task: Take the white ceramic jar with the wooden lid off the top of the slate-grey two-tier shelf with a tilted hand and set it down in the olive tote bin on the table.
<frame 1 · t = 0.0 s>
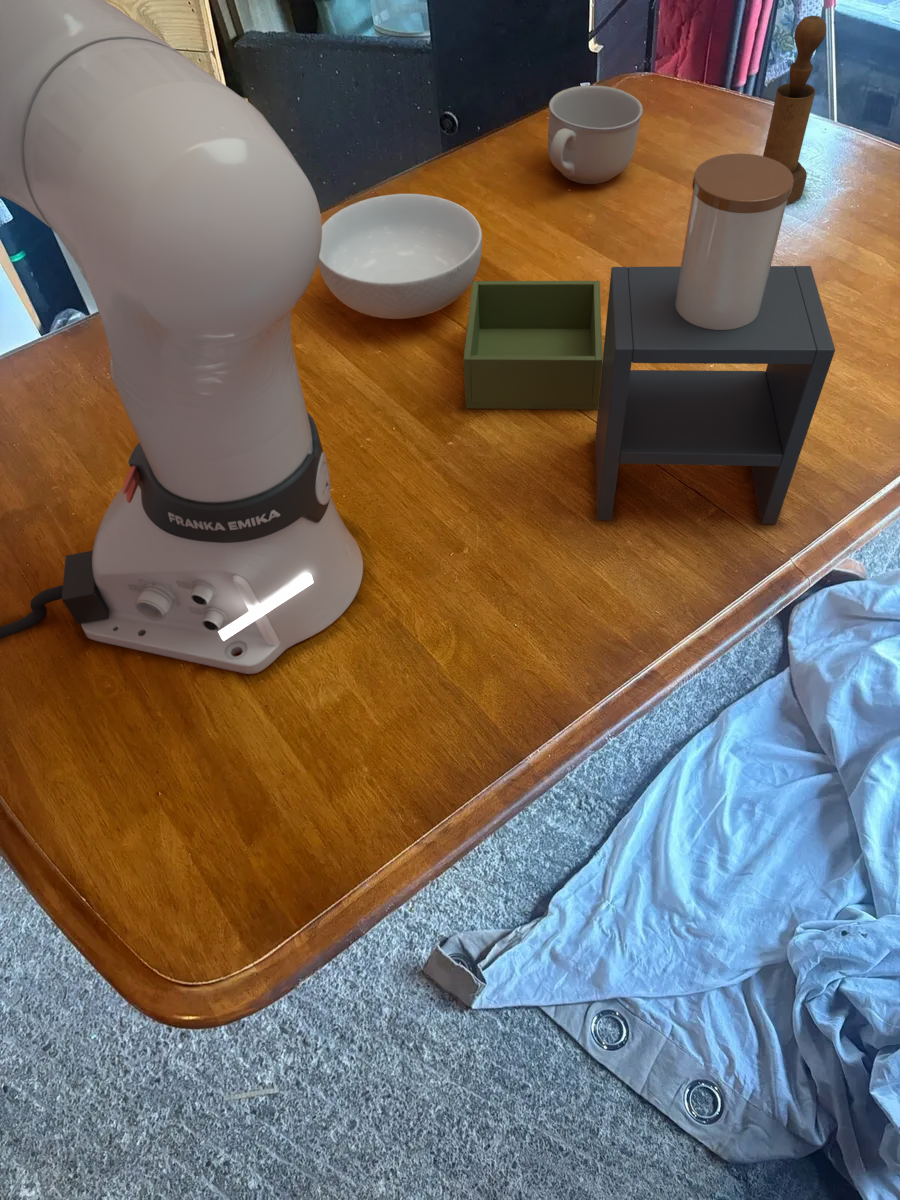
mortar and pestle: (772, 193, 104), on the table
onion: (730, 297, 92), on the table
cereal bowl: (404, 298, 95), on the table
bin: (533, 368, 86), on the table
teacup: (582, 178, 109), on the table
shelf: (681, 479, 76), on the table
jar: (717, 305, 63), point 17 cm above the table, touching shelf
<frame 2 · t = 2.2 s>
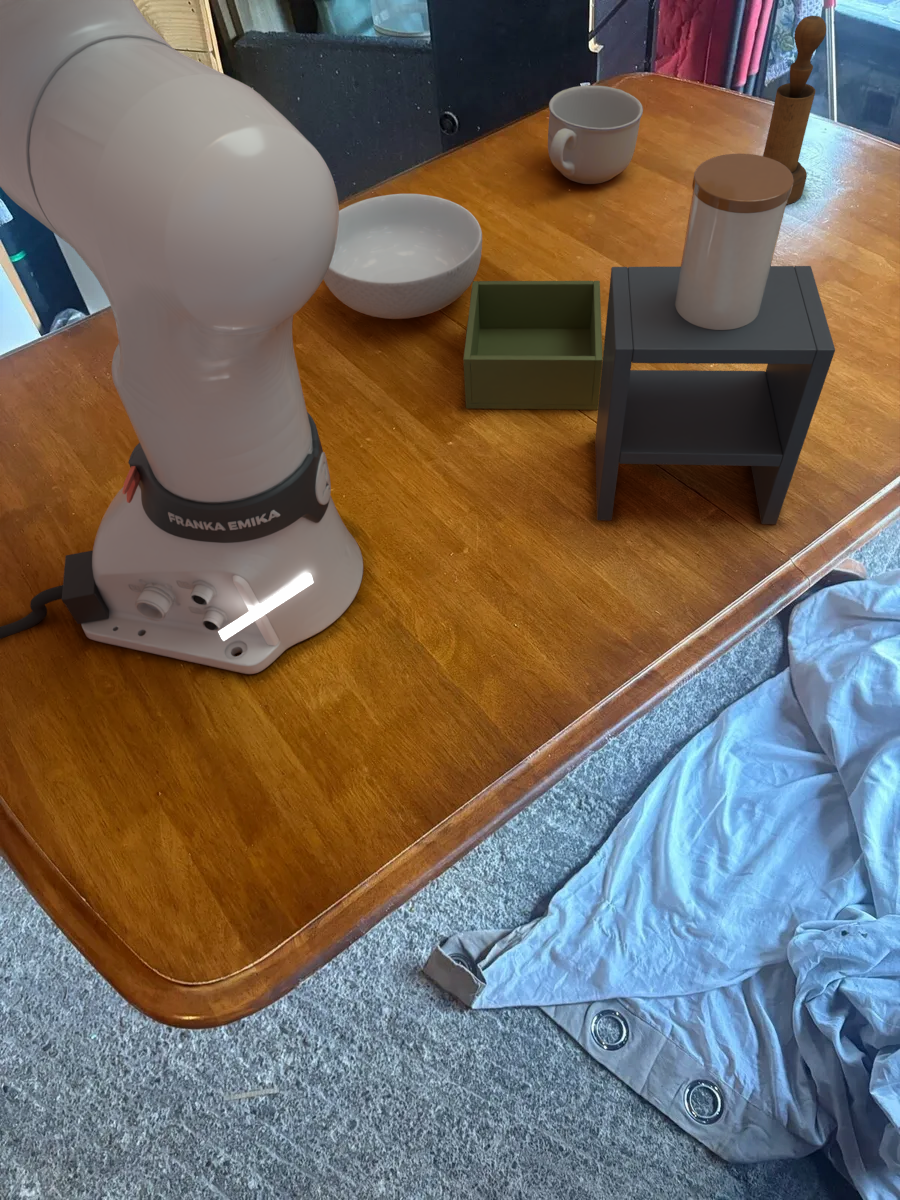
nothing on the table moved.
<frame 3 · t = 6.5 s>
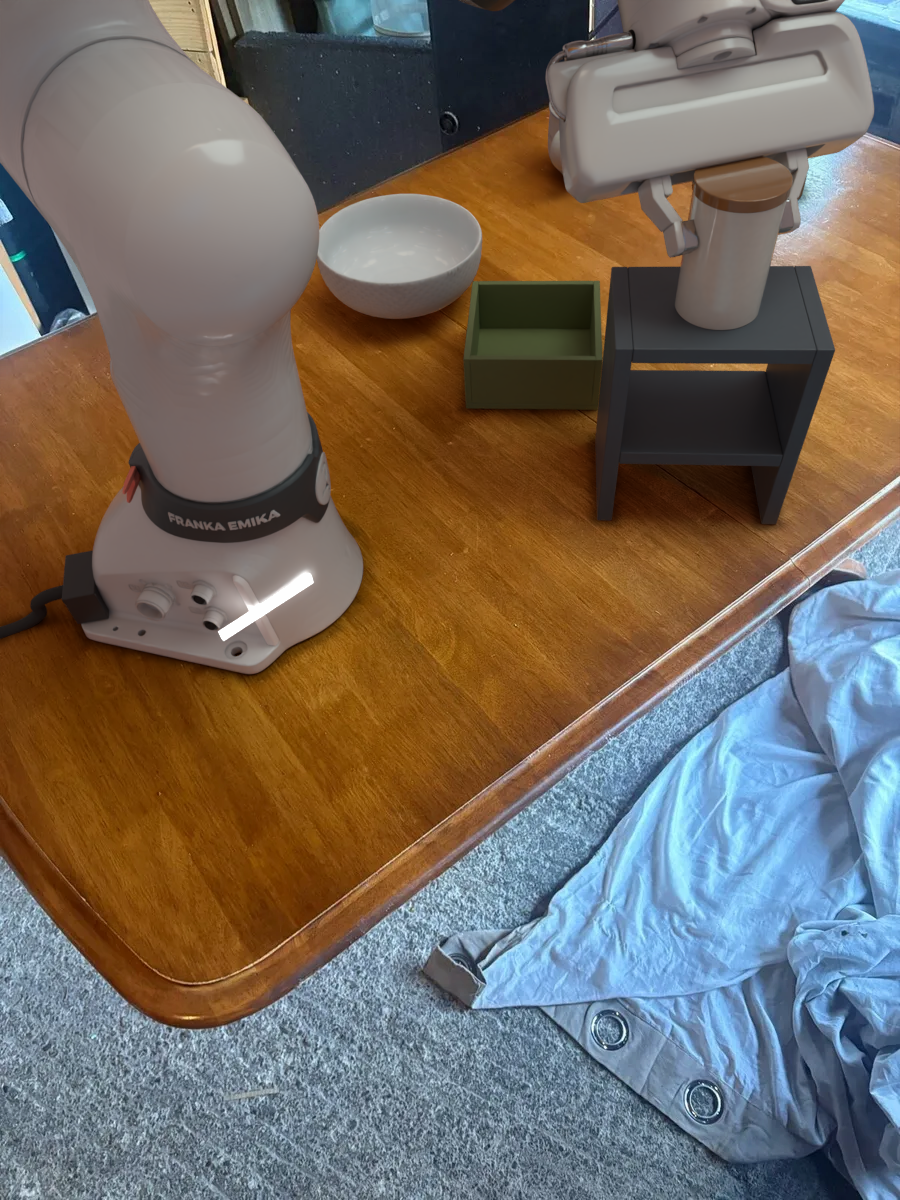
hand: (735, 242, 58), 22 cm above the table, tool tilted 45°, fingers closed on jar, 6 cm apart
jar: (716, 305, 63), point 17 cm above the table, touching gripper, shelf
everything else where it was.
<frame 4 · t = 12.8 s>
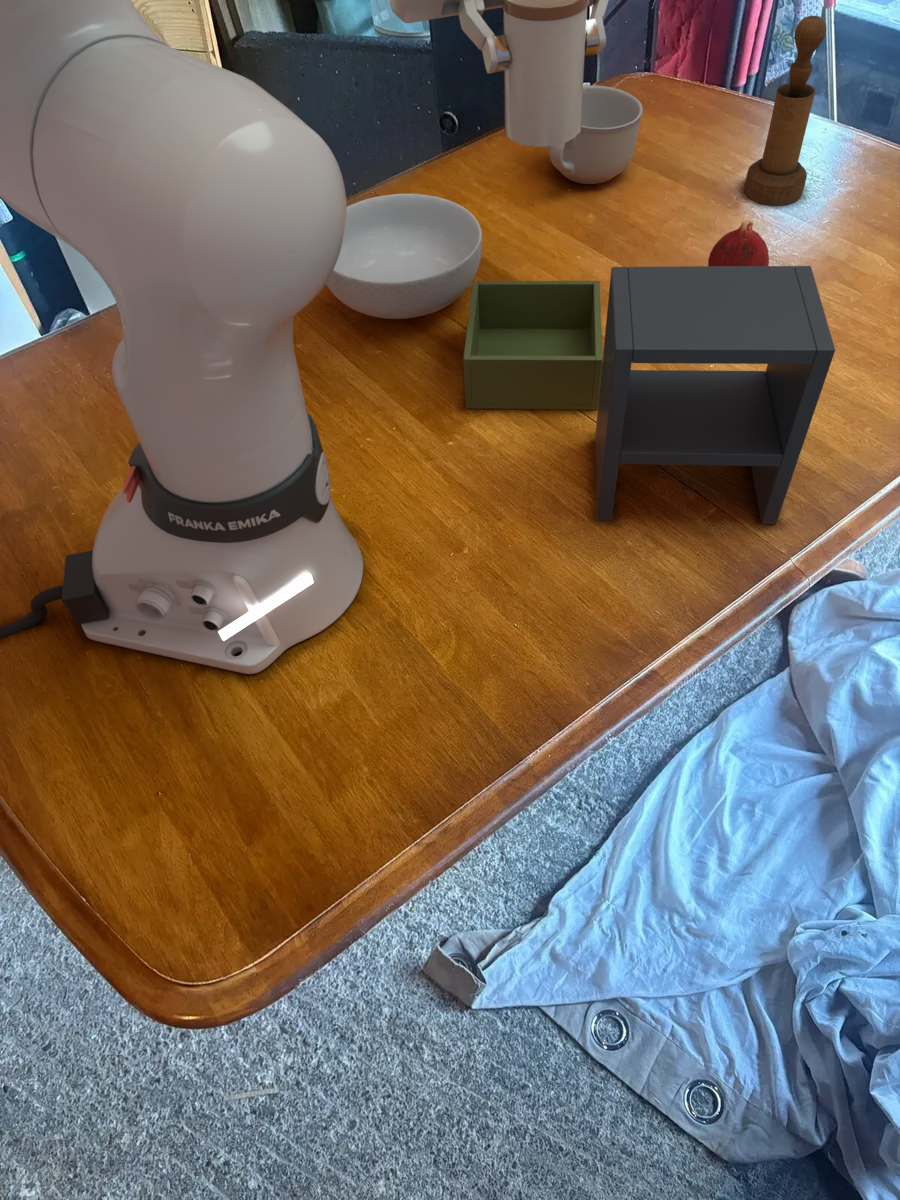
hand: (547, 59, 64), 28 cm above the table, tool tilted 45°, fingers closed on jar, 6 cm apart
jar: (542, 129, 68), point 23 cm above the table, touching gripper
everything else where it was.
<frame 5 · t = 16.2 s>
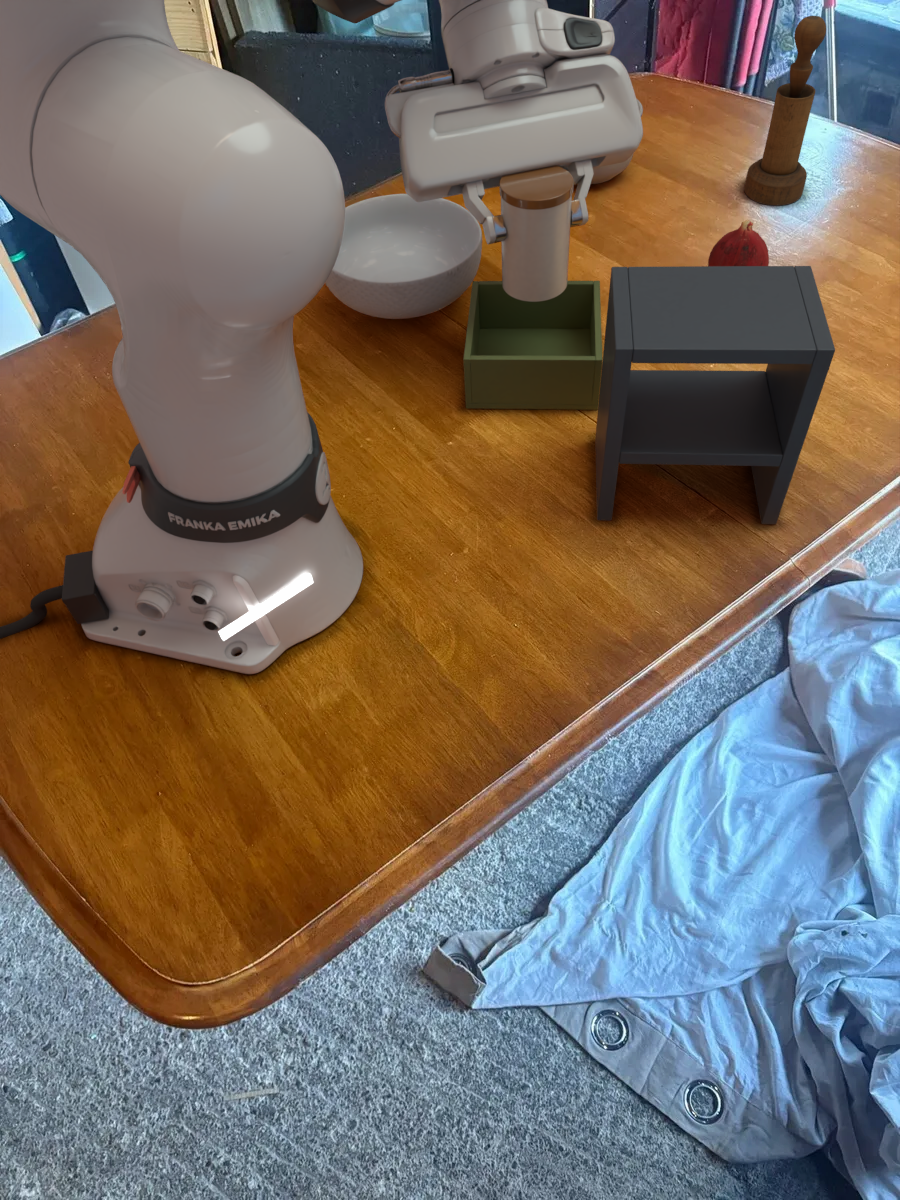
hand: (538, 232, 75), 14 cm above the table, tool tilted 45°, fingers closed on jar, 6 cm apart
jar: (534, 282, 79), point 9 cm above the table, touching gripper
everything else where it was.
when the fingers open (5 cm above the table, at t = 19.1 s): jar stays where it is, resting on bin.
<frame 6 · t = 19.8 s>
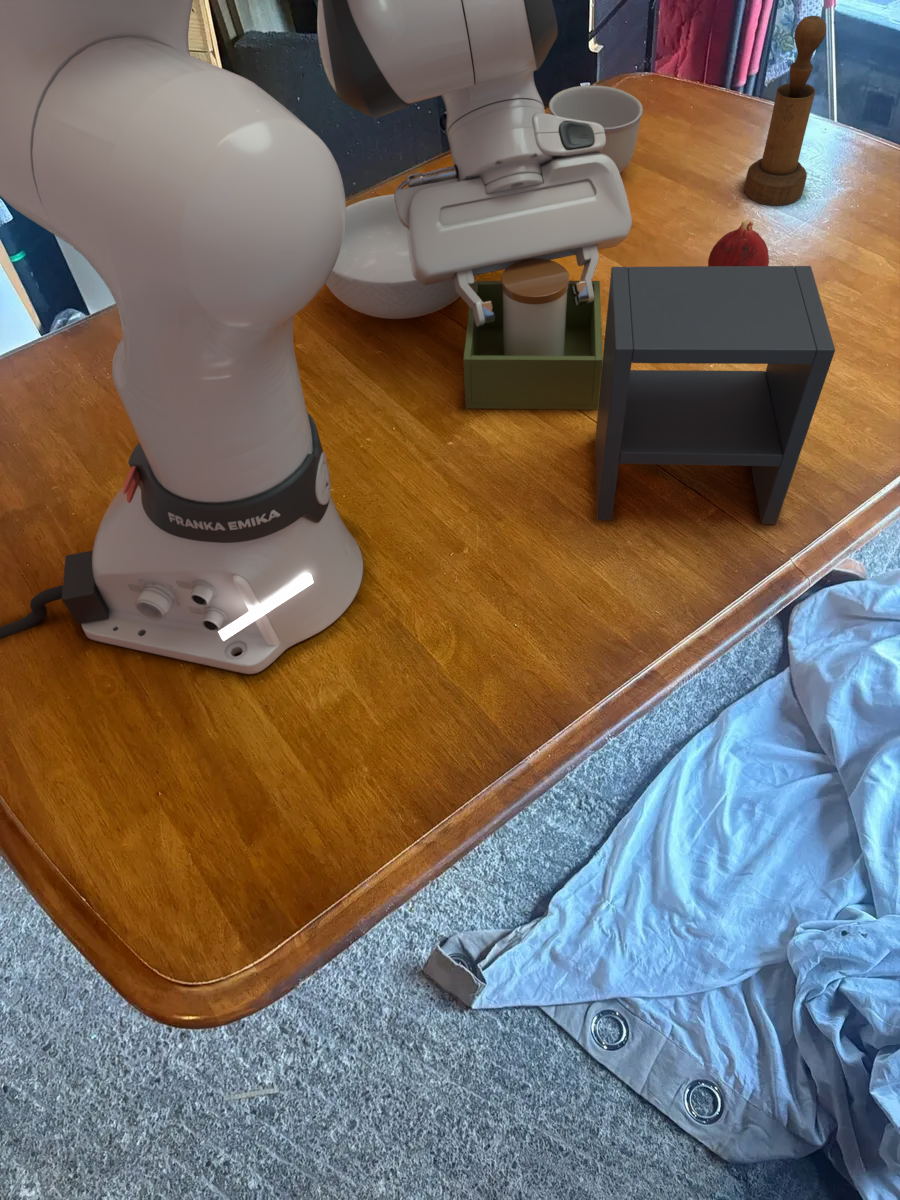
hand: (535, 313, 81), 6 cm above the table, tool tilted 45°, fingers open, 8 cm apart
jar: (533, 362, 86), point 1 cm above the table, touching bin
everything else where it was.
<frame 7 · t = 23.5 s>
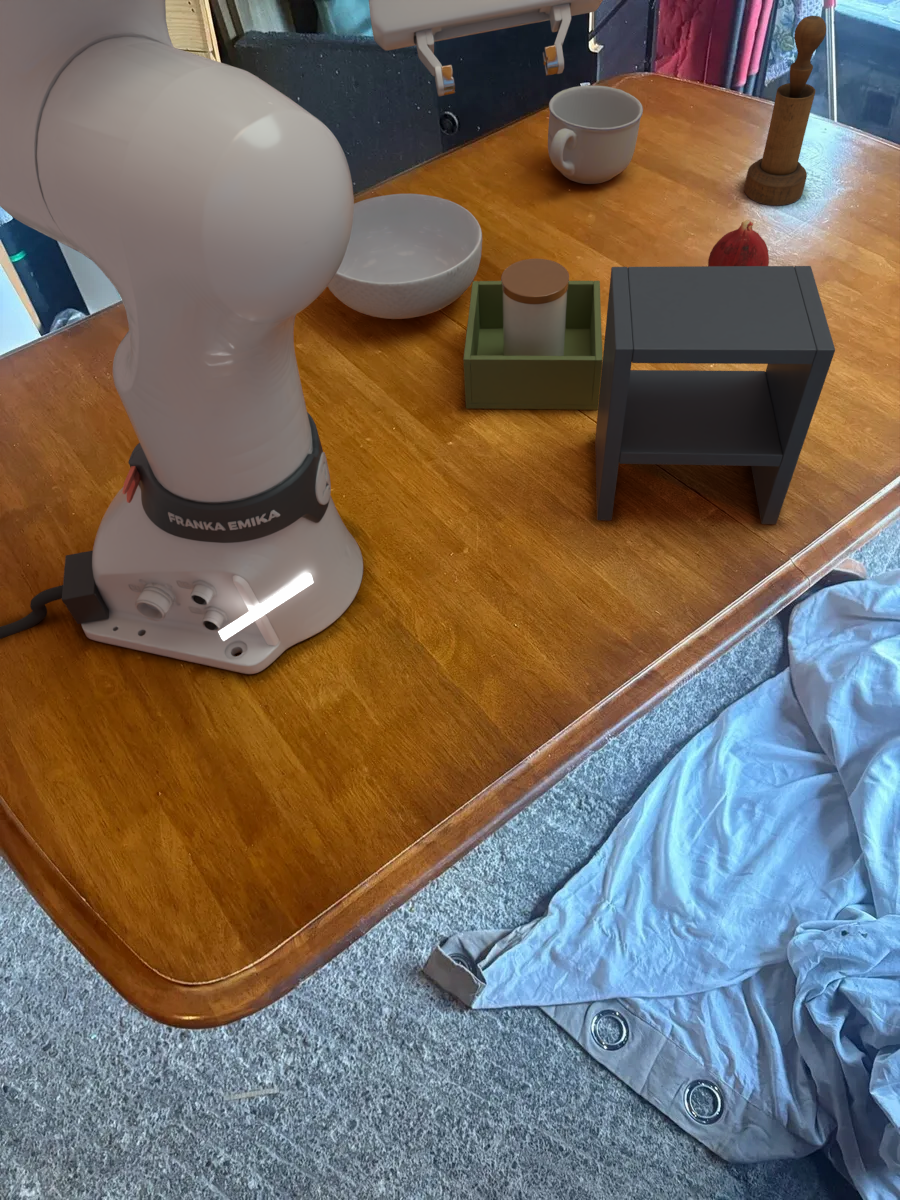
hand: (500, 82, 76), 22 cm above the table, tool tilted 40°, fingers open, 8 cm apart
nothing on the table moved.
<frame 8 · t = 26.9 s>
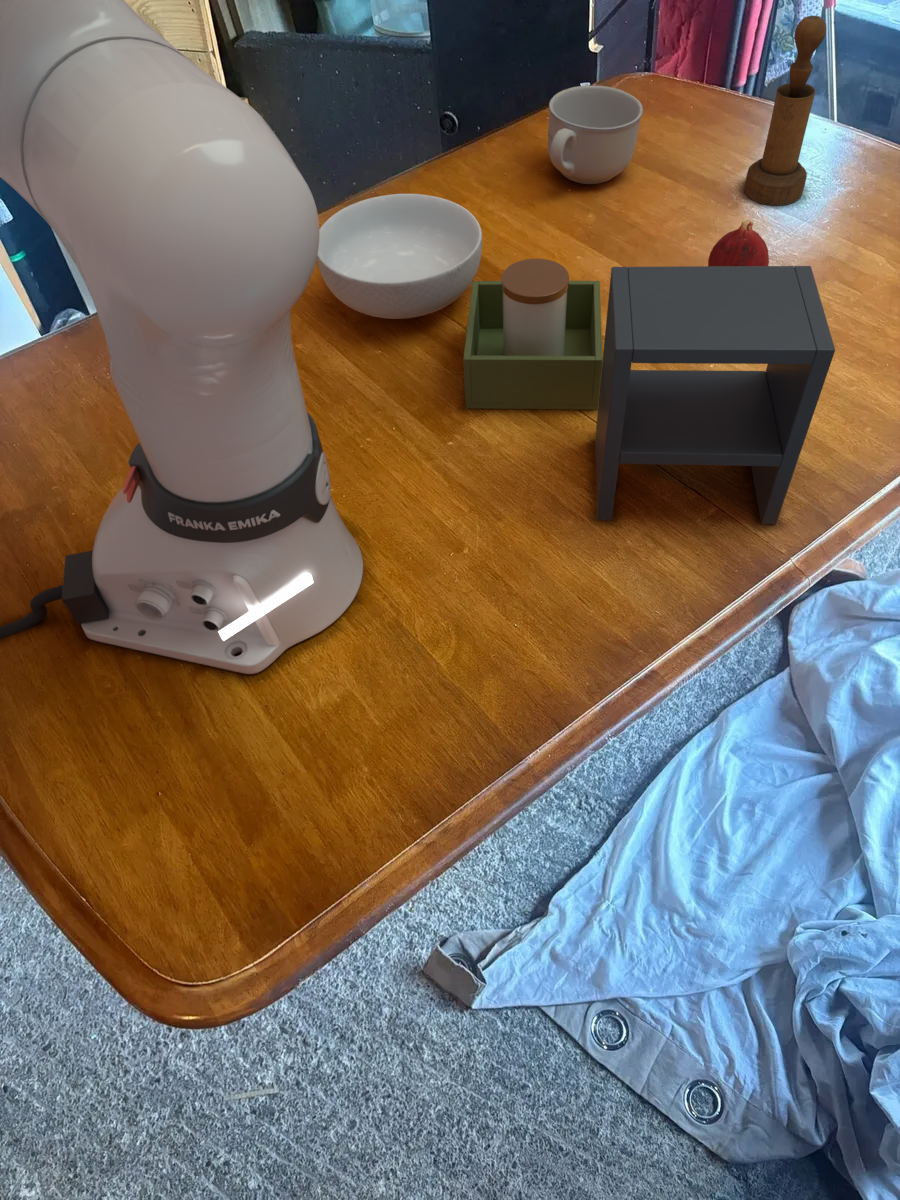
nothing on the table moved.
at the end: jar inside the target area in the bin (0.1 cm from its centre), point 0.6 cm above the bin's base; jar tilted 0°; the gripper is holding nothing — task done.
